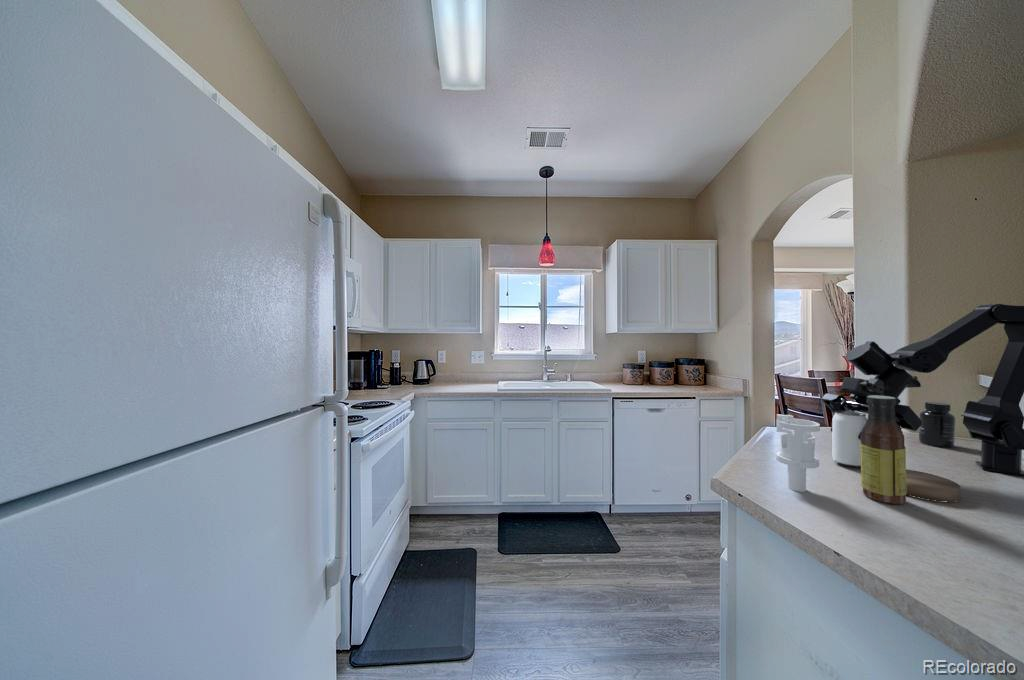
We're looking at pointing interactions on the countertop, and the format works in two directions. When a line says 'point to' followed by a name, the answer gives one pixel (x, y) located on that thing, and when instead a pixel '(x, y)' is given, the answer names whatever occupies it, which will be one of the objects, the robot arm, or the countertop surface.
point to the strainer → (797, 449)
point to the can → (847, 437)
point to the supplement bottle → (937, 425)
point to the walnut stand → (931, 487)
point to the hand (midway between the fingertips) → (845, 435)
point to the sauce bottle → (883, 453)
